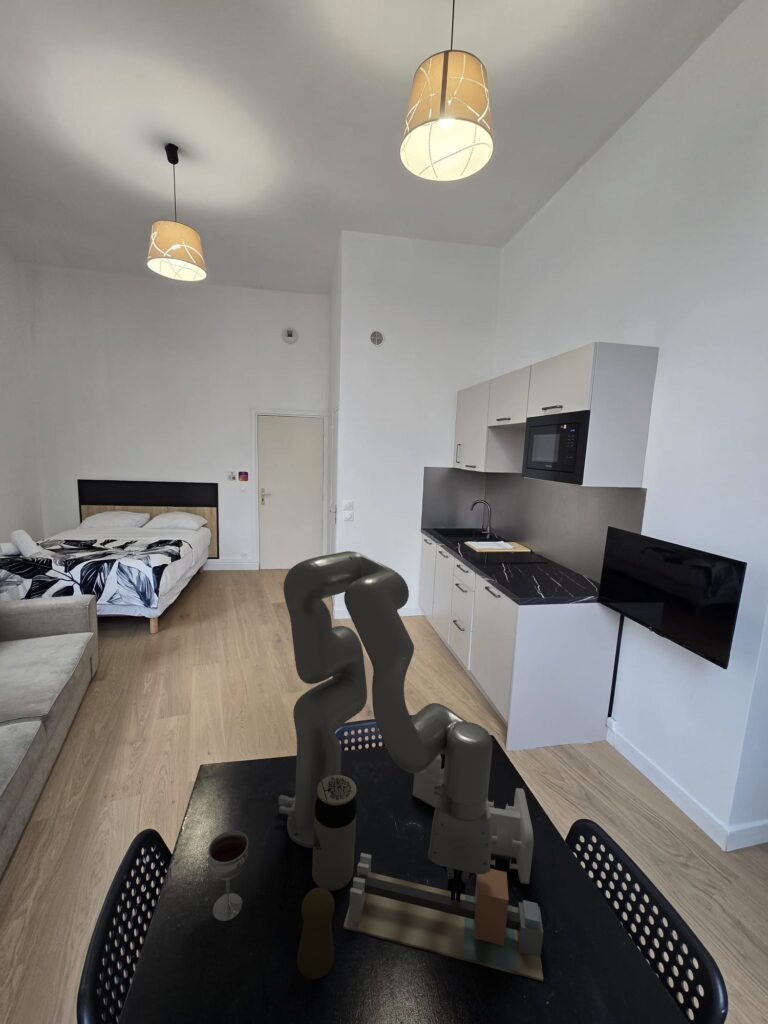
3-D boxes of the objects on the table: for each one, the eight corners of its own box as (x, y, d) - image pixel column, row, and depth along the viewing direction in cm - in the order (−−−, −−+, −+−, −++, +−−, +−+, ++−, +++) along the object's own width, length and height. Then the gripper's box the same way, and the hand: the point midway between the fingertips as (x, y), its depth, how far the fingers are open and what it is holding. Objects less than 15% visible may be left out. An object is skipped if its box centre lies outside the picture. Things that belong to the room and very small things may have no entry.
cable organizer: (530, 896, 86) (536, 841, 84) (473, 885, 87) (478, 831, 86) (518, 832, 100) (523, 784, 99) (470, 824, 102) (474, 776, 100)
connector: (518, 953, 75) (521, 920, 75) (516, 926, 80) (519, 895, 79) (540, 959, 75) (544, 926, 74) (536, 932, 79) (540, 900, 78)
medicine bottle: (426, 779, 115) (430, 735, 114) (451, 792, 111) (455, 747, 110) (411, 795, 109) (415, 749, 108) (437, 810, 105) (441, 762, 104)
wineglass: (204, 929, 76) (205, 866, 75) (210, 891, 83) (210, 832, 81) (246, 922, 78) (247, 860, 76) (248, 885, 84) (250, 827, 83)
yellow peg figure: (301, 986, 69) (304, 923, 68) (293, 946, 75) (295, 887, 73) (339, 970, 72) (342, 909, 70) (328, 932, 77) (331, 875, 76)
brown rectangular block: (473, 937, 76) (477, 893, 75) (473, 908, 81) (477, 865, 80) (503, 945, 75) (508, 900, 74) (502, 915, 80) (506, 872, 79)
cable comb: (348, 921, 79) (349, 892, 78) (360, 878, 87) (361, 851, 86) (359, 924, 79) (360, 895, 78) (370, 880, 87) (371, 854, 86)
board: (343, 928, 78) (343, 925, 78) (359, 871, 89) (359, 869, 89) (543, 981, 72) (543, 978, 72) (534, 913, 82) (534, 911, 82)
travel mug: (350, 852, 93) (355, 772, 90) (355, 889, 85) (360, 802, 83) (311, 856, 91) (315, 775, 89) (312, 894, 83) (316, 806, 81)
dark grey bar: (356, 890, 82) (357, 882, 82) (358, 882, 83) (359, 874, 83) (528, 933, 76) (529, 924, 76) (527, 923, 78) (528, 915, 78)
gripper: (418, 805, 74) (410, 903, 77) (511, 825, 72) (500, 925, 74) (422, 774, 82) (415, 865, 84) (507, 791, 79) (498, 883, 81)
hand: (455, 893), depth 79 cm, fingers closed
